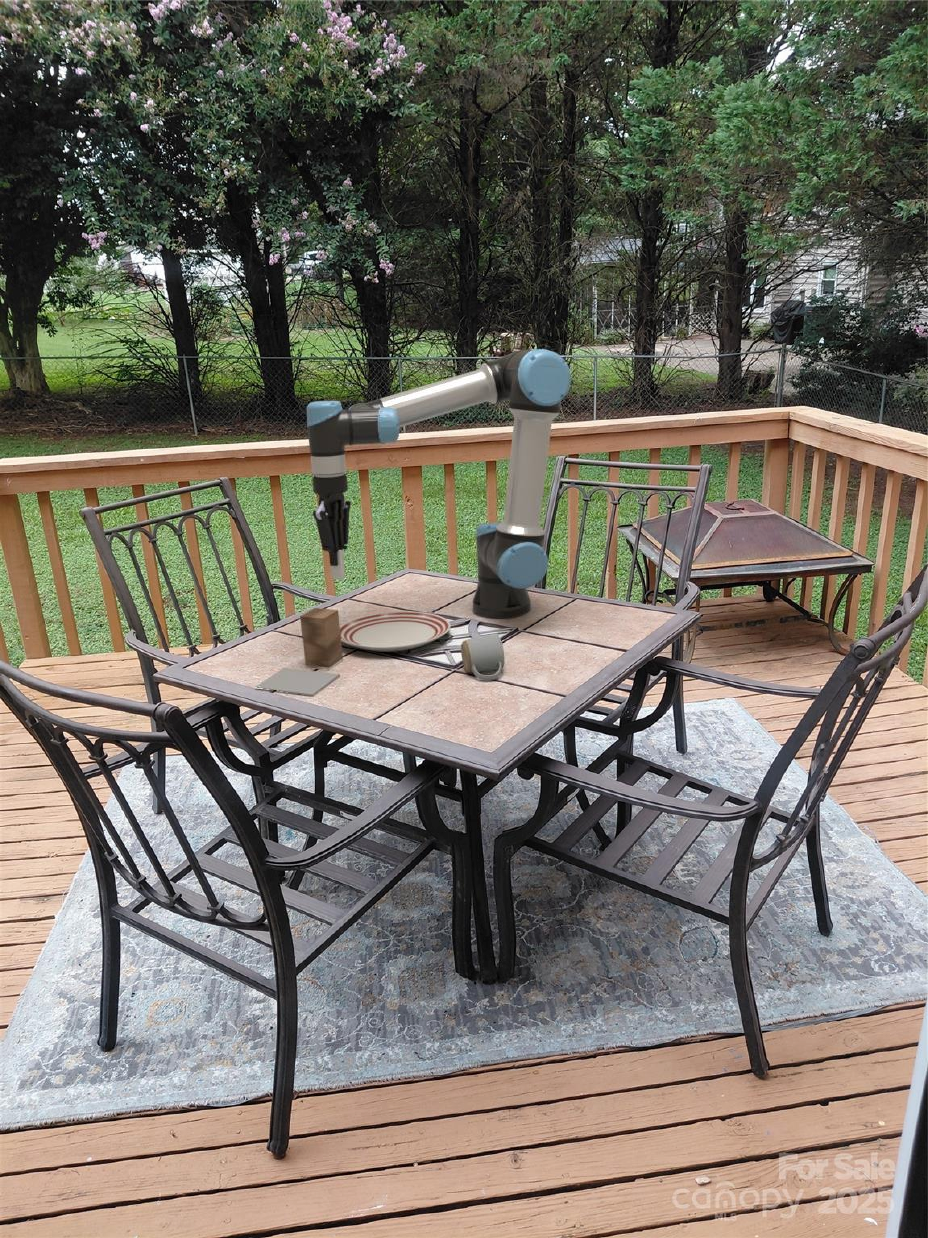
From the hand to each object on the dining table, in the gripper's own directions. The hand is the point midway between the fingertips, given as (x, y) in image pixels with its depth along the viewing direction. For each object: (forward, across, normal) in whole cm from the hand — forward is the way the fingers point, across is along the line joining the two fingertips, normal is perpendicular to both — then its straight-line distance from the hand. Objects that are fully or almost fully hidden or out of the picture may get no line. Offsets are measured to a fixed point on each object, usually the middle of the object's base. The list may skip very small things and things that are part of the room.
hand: (338, 578), depth 190 cm
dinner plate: (+17, -9, +8) cm, 21 cm away
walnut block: (+17, +10, 0) cm, 20 cm away
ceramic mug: (+17, +4, +37) cm, 41 cm away
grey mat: (+17, +21, 0) cm, 27 cm away
